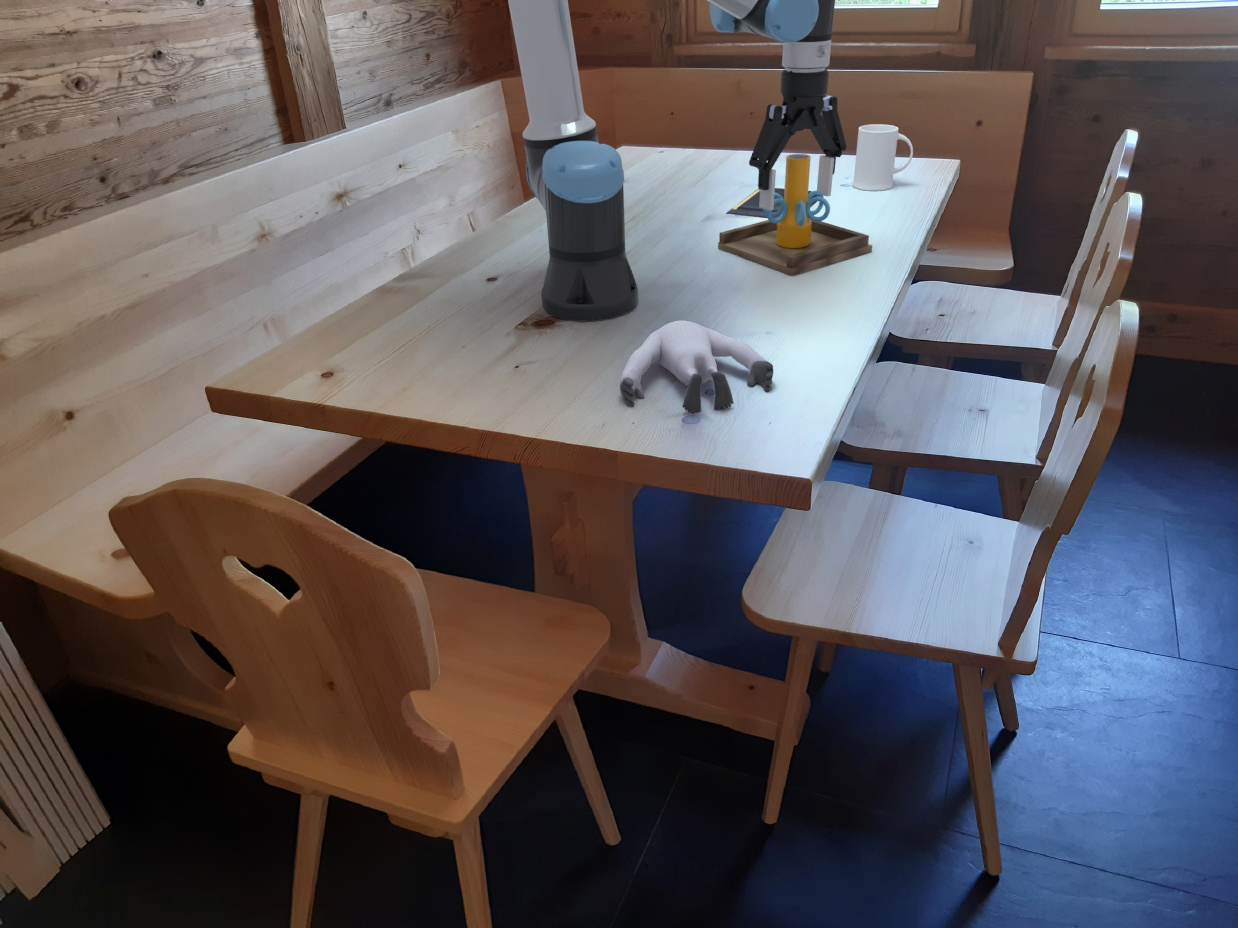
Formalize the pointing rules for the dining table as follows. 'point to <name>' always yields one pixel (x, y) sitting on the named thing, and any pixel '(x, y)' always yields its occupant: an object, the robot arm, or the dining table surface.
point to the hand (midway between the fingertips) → (795, 201)
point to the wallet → (757, 205)
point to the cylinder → (796, 205)
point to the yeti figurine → (693, 363)
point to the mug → (877, 157)
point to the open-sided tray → (822, 250)
